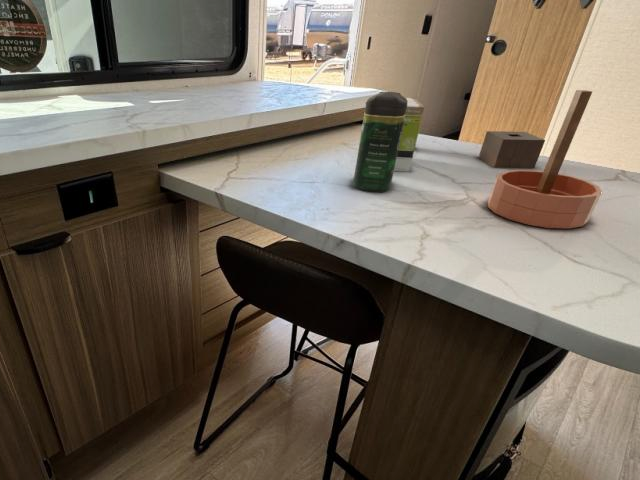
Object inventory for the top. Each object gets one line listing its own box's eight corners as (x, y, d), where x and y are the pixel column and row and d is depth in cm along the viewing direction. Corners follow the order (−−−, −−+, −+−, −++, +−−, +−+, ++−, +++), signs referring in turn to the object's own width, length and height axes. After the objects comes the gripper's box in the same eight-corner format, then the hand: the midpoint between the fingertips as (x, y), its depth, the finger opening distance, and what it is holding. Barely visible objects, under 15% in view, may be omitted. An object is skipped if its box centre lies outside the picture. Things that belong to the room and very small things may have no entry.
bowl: (554, 201, 83) (567, 171, 79) (606, 233, 70) (624, 198, 66) (473, 199, 84) (483, 169, 80) (509, 230, 71) (522, 196, 67)
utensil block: (515, 159, 109) (525, 131, 105) (533, 170, 101) (545, 140, 97) (477, 159, 109) (486, 131, 106) (493, 169, 101) (503, 139, 98)
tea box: (410, 173, 98) (426, 105, 90) (367, 171, 100) (378, 104, 92) (402, 157, 111) (415, 96, 103) (364, 155, 112) (373, 95, 104)
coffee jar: (388, 196, 85) (409, 96, 75) (349, 191, 88) (364, 94, 77) (392, 182, 93) (411, 90, 82) (356, 178, 95) (370, 88, 85)
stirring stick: (537, 210, 77) (586, 90, 66) (541, 213, 76) (592, 91, 65) (528, 209, 77) (575, 90, 66) (532, 212, 76) (582, 91, 65)
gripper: (531, -83, 80) (538, -13, 76) (609, -84, 79) (619, -14, 75) (508, -43, 87) (514, 22, 84) (579, -44, 86) (588, 21, 83)
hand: (564, 5), depth 80 cm, fingers open, 8 cm apart
